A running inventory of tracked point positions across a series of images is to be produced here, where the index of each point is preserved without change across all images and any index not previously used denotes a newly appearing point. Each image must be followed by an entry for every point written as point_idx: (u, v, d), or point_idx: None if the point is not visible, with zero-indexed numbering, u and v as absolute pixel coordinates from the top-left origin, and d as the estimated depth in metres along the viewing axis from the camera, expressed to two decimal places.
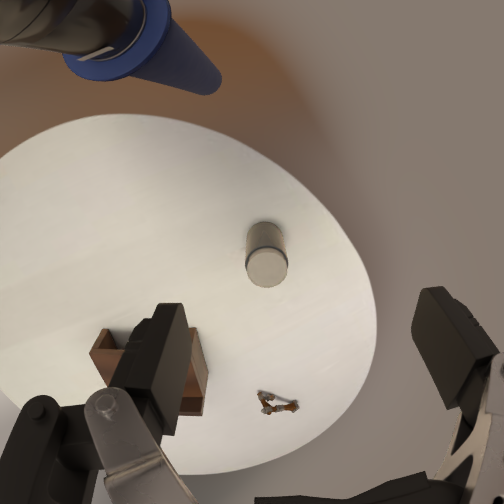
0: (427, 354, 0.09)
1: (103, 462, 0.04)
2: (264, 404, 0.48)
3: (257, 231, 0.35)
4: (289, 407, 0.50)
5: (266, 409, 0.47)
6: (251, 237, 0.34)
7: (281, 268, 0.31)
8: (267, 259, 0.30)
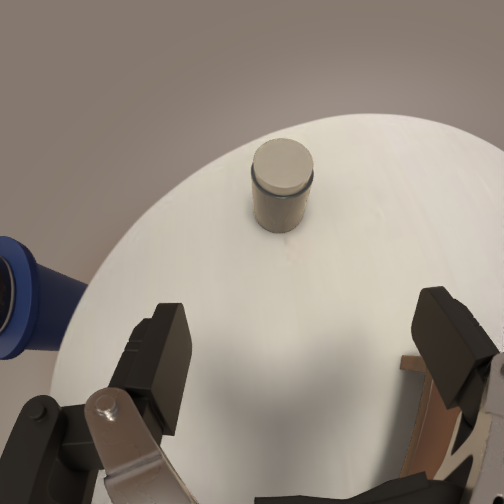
0: (427, 354, 0.09)
1: (103, 462, 0.04)
2: None
3: (253, 200, 0.25)
4: None
5: None
6: (256, 206, 0.24)
7: (284, 144, 0.20)
8: (265, 157, 0.20)
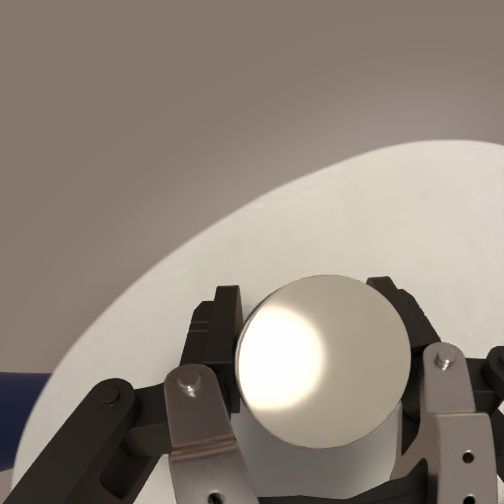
0: None
1: (172, 436, 0.05)
2: None
3: None
4: None
5: None
6: None
7: (330, 299, 0.07)
8: (273, 352, 0.06)
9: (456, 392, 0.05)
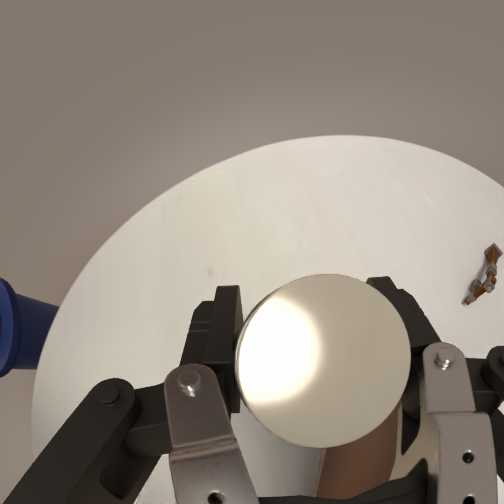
0: None
1: (172, 435, 0.05)
2: (481, 290, 0.25)
3: None
4: (492, 256, 0.27)
5: (487, 284, 0.24)
6: None
7: (330, 298, 0.07)
8: (272, 351, 0.06)
9: (456, 392, 0.05)
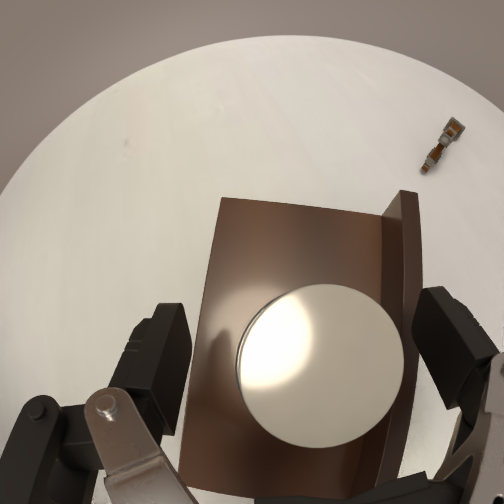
0: (427, 354, 0.09)
1: (103, 462, 0.04)
2: (437, 148, 0.21)
3: None
4: (451, 126, 0.23)
5: (441, 136, 0.20)
6: None
7: (327, 307, 0.07)
8: (272, 357, 0.07)
9: None
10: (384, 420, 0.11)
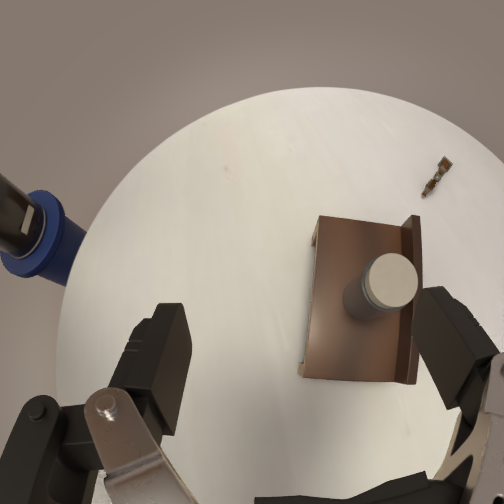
0: (427, 354, 0.09)
1: (103, 462, 0.04)
2: (432, 181, 0.35)
3: (349, 299, 0.26)
4: (442, 164, 0.37)
5: (435, 175, 0.34)
6: (355, 307, 0.25)
7: (393, 260, 0.21)
8: (379, 276, 0.21)
9: None
10: (409, 324, 0.25)
